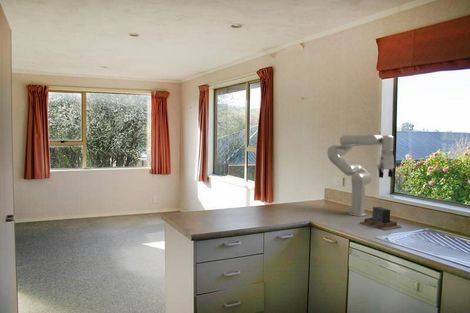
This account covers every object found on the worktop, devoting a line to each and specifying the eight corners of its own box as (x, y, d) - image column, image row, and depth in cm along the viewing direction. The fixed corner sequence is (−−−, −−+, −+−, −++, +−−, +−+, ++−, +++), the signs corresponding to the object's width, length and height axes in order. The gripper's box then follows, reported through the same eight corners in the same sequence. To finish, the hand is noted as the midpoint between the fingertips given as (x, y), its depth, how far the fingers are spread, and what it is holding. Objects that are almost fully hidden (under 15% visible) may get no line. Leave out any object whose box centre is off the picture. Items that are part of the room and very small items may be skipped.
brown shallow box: (360, 223, 257) (360, 218, 256) (376, 221, 265) (376, 216, 265) (385, 230, 239) (385, 224, 239) (401, 227, 248) (401, 222, 247)
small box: (390, 225, 248) (391, 209, 248) (381, 226, 246) (382, 210, 246) (379, 221, 258) (380, 206, 258) (371, 222, 256) (372, 206, 256)
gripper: (383, 153, 260) (381, 178, 261) (399, 153, 268) (398, 177, 269) (374, 152, 266) (372, 177, 267) (390, 152, 275) (389, 176, 276)
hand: (385, 177), depth 268 cm, fingers open, 9 cm apart
